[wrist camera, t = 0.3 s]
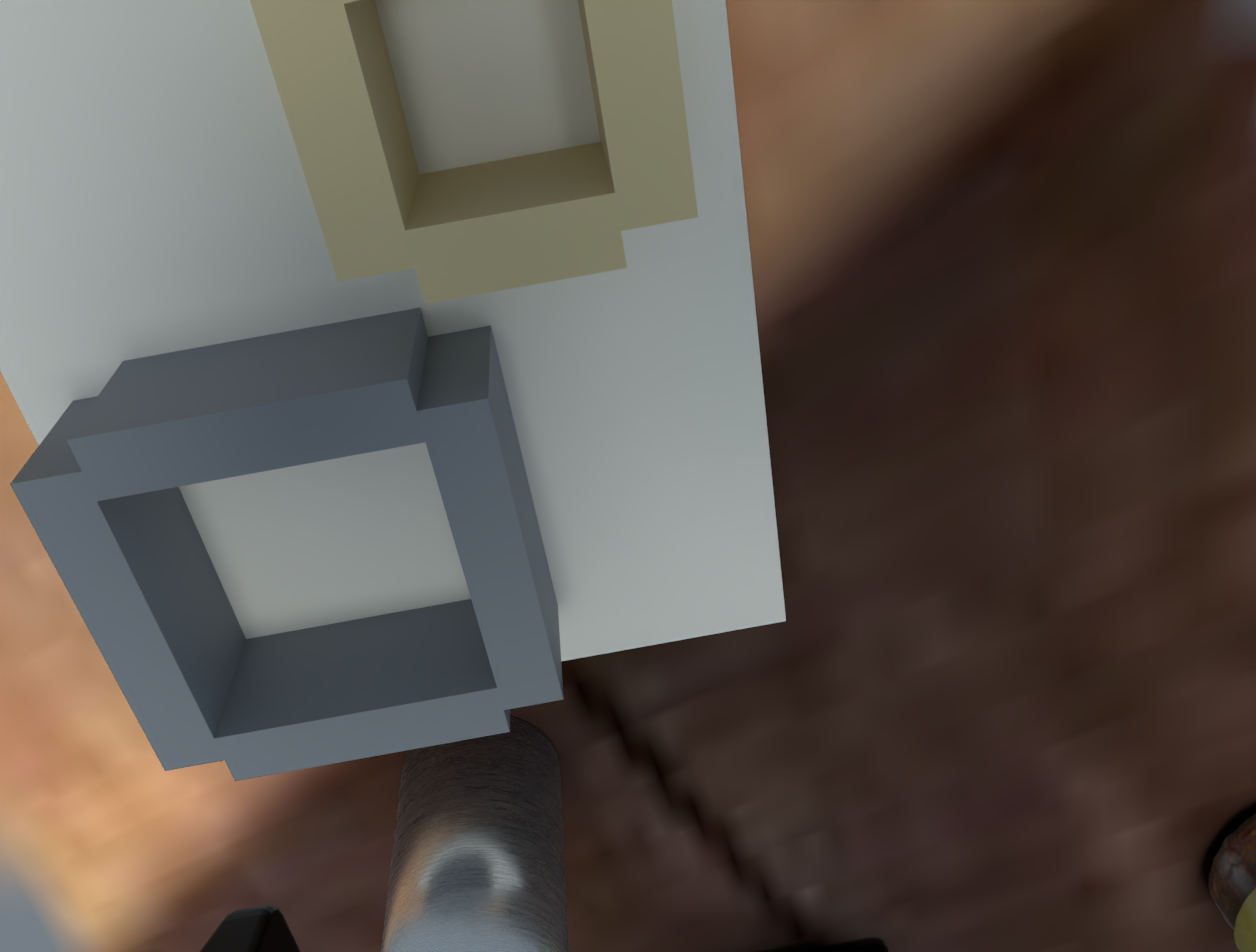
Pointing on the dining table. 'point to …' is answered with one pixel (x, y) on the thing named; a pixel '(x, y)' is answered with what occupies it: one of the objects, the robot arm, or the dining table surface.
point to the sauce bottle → (1237, 883)
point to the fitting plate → (380, 354)
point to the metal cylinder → (479, 848)
